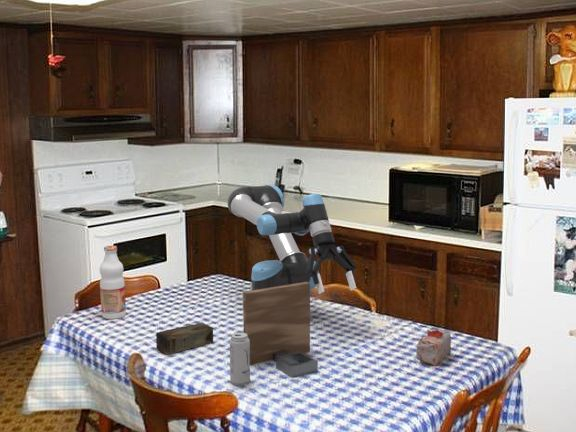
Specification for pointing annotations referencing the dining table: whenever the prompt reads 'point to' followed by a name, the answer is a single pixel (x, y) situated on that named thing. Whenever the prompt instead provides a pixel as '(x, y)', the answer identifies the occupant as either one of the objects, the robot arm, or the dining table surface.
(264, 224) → the robot arm
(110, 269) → the fruit juice
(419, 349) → the food item
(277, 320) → the wall board
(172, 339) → the beverage carton
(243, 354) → the energy drink can
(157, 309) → the dining table surface
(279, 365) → the can cradle
